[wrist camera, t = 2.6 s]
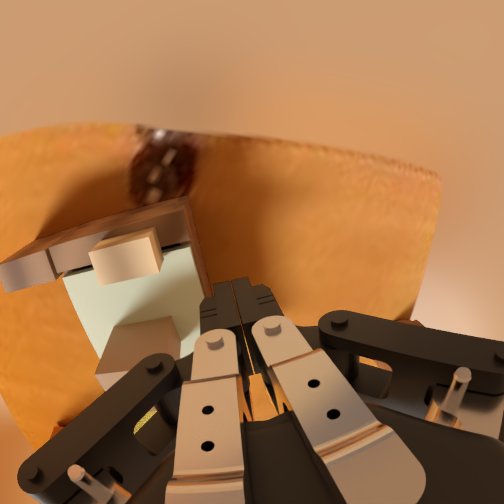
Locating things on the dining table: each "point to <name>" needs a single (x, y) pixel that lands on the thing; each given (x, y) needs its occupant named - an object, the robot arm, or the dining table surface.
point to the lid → (139, 313)
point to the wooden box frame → (91, 233)
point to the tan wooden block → (127, 257)
